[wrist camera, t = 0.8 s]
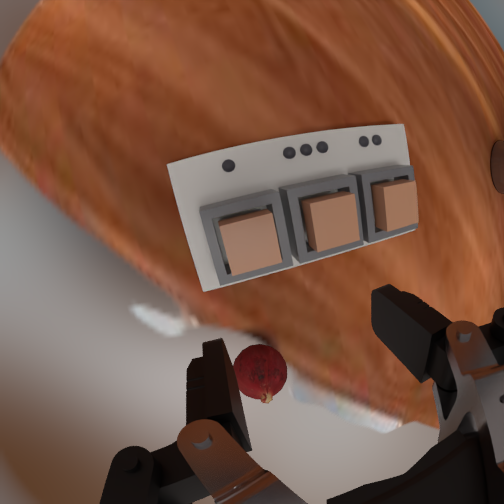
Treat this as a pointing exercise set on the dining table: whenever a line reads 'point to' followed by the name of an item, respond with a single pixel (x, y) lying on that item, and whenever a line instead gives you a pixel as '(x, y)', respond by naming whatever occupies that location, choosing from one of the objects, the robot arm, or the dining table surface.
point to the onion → (260, 372)
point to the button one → (250, 241)
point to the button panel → (285, 191)
